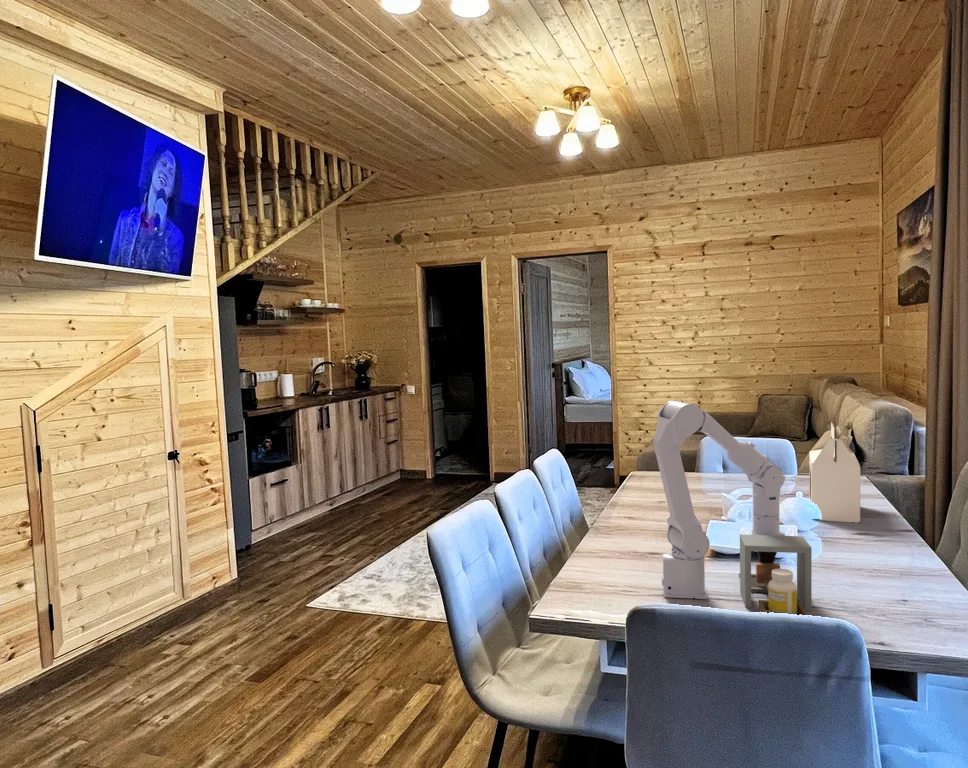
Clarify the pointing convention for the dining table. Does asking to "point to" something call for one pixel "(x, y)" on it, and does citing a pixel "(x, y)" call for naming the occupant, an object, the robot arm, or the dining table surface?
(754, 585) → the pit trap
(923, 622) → the dining table surface
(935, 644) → the dining table surface
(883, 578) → the dining table surface
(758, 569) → the sled
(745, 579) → the tunnel
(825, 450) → the gable box
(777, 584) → the supplement bottle
